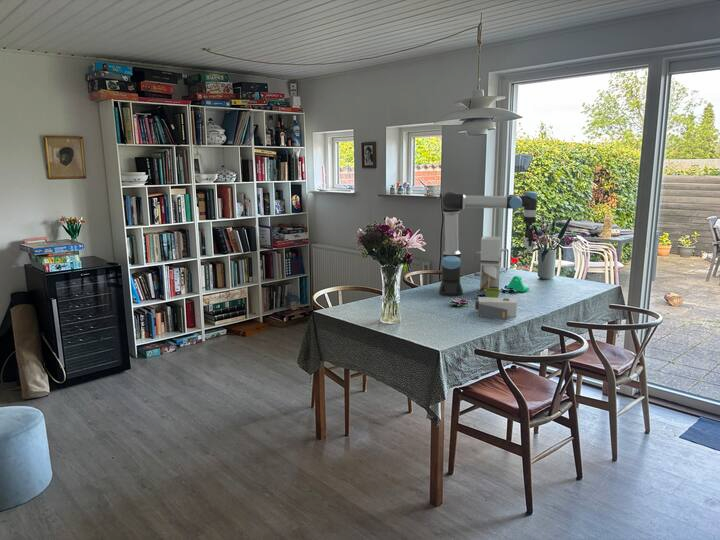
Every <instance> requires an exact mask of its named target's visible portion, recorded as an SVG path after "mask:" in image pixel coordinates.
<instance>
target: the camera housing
mask: <svg viewBox="0 0 720 540" xmlns="http://www.w3.org/2000/svg"><path fill="white" fill-rule="evenodd" d="M479 304H484V305H489V306H494V307H499V308H504V309H508V310H507V316H513V318H515V317H517V306H518V303H517V300H516V298H515V297H498V298H494V297H486V296H483V297H482V296H478V297H477V300H475V305H474V308H475V309H474V310H476V311H477V313H478V314H479ZM514 316H515V317H514ZM479 317H484V316H483V315H480V316H479Z"/></svg>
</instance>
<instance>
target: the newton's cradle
mask: <svg viewBox="0 0 720 540" xmlns="http://www.w3.org/2000/svg"><path fill="white" fill-rule="evenodd" d="M502 252H506V264H505V265H506V267H505V270H503V271H500V273H501V272H504V273H506V272H508V269H509V249H508V248H501V252H500V253H502ZM477 254H481V250H480V251H476V252H475V253H474V276H476V275H477V276H479V277H480V275H479V274H480V272H479V273H477V257H478V256H477ZM505 271H506V272H505ZM501 274H502V273H501Z"/></svg>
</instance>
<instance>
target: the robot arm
mask: <svg viewBox="0 0 720 540" xmlns="http://www.w3.org/2000/svg"><path fill="white" fill-rule="evenodd" d="M440 201H441V208H442V209H441V210H442V213H443V215H444V239H445V240H444V243H445V244H444V245H445V246H444V247H445V249H444V250H445V251H443V252H442V260H441V283H440V286H439V288H438V294H439V295H442V296H446V297H459V296H462V295H463V288H462V283H461V267H462V253H461V251H460V250H459V213H461V210H464V209H508V210H509V209H510V210H518V209H520V208H523V218H522V219H523V223H525V230H524V234H523V235H524V248H526V250H527V251H526V252H533V251H532V250H533V240H534V237H533V236H534V225H533V224H535V223H536V222H537V217H536V216H537V213H538V211H537V207H538V192H536V191H525V192H524V194H506V195H466V194H464V193H459V192H458V191H457V190H447V191H446V192H444V194H443V195H442V197H441V199H440Z"/></svg>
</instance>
